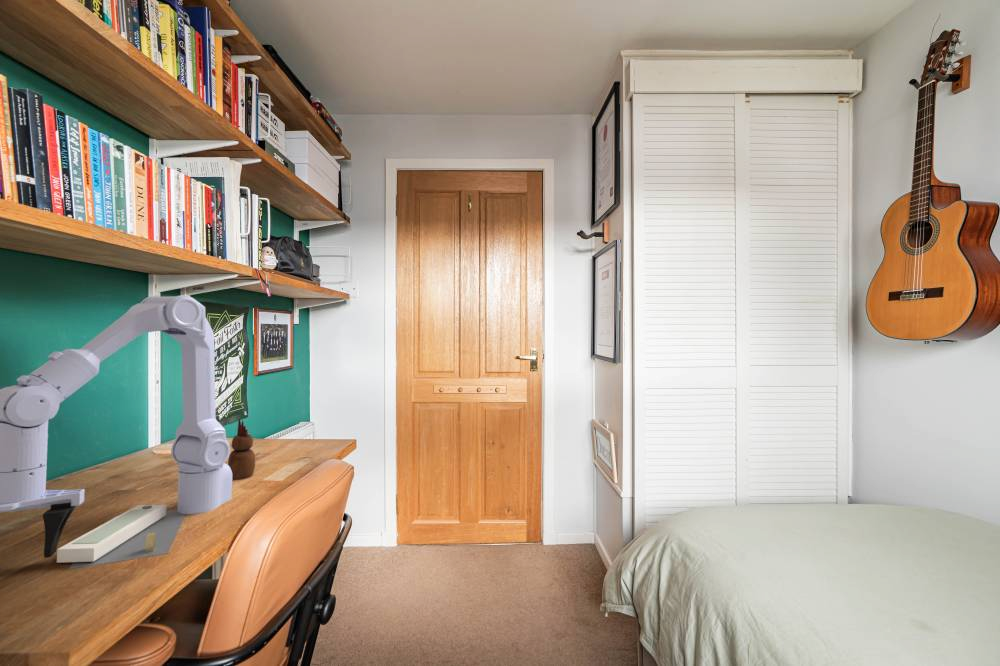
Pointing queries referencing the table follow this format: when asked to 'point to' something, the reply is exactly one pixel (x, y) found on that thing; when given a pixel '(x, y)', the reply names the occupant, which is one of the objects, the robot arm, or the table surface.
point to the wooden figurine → (242, 454)
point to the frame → (110, 534)
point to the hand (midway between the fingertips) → (15, 559)
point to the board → (143, 541)
